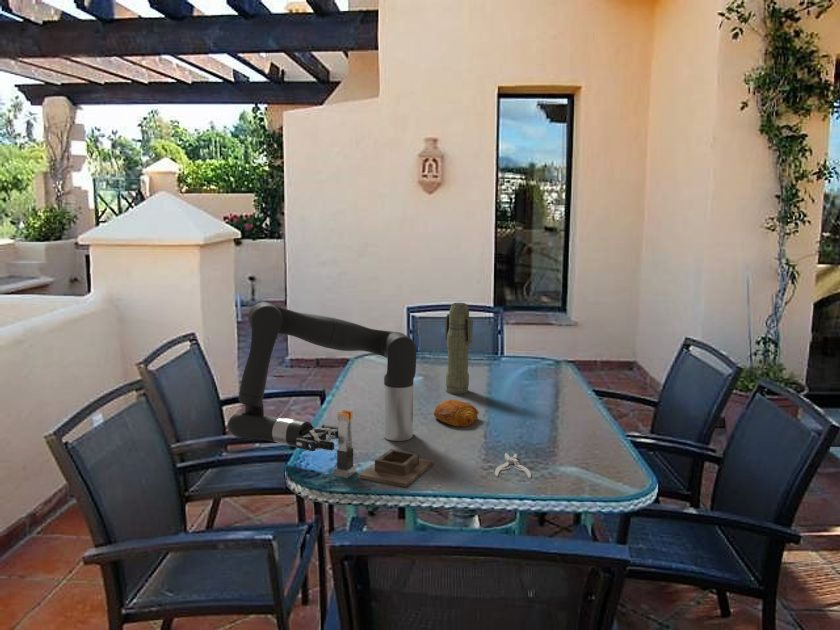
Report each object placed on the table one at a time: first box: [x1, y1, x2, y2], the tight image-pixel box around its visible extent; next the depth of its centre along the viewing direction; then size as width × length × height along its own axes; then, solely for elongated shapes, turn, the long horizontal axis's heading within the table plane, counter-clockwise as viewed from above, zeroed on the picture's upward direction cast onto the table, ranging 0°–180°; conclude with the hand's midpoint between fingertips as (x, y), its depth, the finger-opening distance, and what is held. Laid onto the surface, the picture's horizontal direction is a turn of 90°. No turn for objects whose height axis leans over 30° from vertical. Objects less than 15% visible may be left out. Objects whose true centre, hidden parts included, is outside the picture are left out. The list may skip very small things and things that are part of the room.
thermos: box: [445, 302, 474, 395], centre depth 268 cm, size 9×12×35 cm
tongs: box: [333, 409, 357, 479], centre depth 188 cm, size 5×4×18 cm
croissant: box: [433, 399, 480, 427], centre depth 236 cm, size 14×16×8 cm
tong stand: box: [358, 448, 434, 488], centre depth 192 cm, size 18×14×4 cm
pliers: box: [494, 452, 532, 479], centre depth 196 cm, size 10×2×15 cm
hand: (341, 441), depth 189 cm, fingers open, 8 cm apart
